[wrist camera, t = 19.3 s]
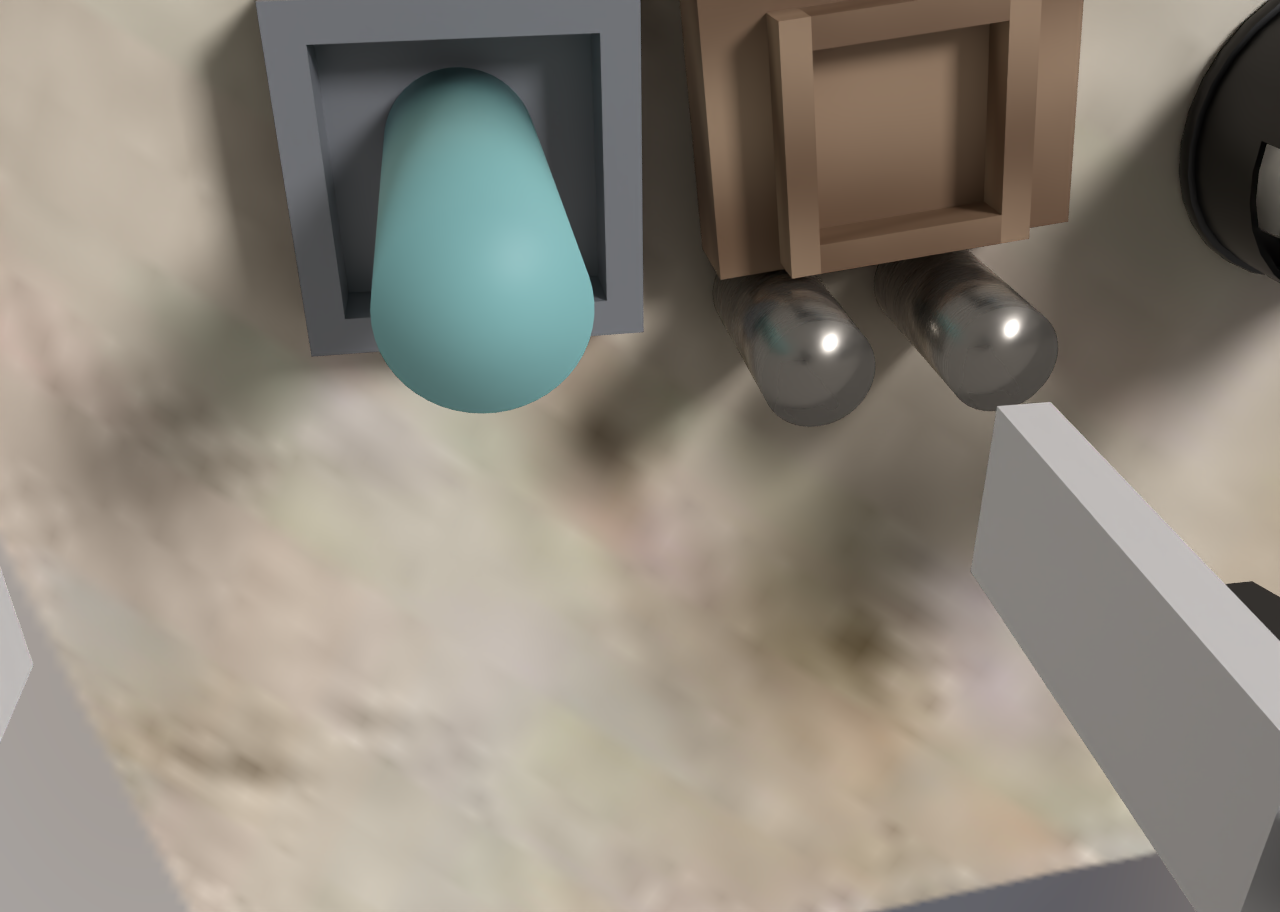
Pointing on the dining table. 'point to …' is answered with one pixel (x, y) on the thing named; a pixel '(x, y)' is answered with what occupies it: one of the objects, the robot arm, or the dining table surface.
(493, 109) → the dowel
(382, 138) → the tray
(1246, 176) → the french press
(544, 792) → the dining table surface
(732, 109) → the brown flat block
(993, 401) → the bench dogs
